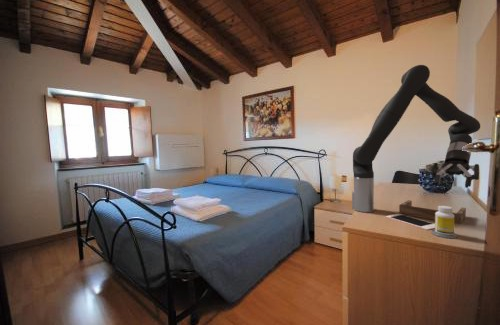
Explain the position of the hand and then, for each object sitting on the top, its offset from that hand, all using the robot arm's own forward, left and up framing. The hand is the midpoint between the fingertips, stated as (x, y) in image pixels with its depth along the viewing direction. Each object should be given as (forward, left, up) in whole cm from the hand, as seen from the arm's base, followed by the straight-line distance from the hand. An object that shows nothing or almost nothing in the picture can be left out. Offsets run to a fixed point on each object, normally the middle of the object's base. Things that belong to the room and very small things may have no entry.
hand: (451, 185), depth 89 cm
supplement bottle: (+1, -11, -17) cm, 20 cm away
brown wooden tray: (-10, +13, -17) cm, 24 cm away
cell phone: (-12, -4, -18) cm, 22 cm away
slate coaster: (+1, -11, -17) cm, 20 cm away
